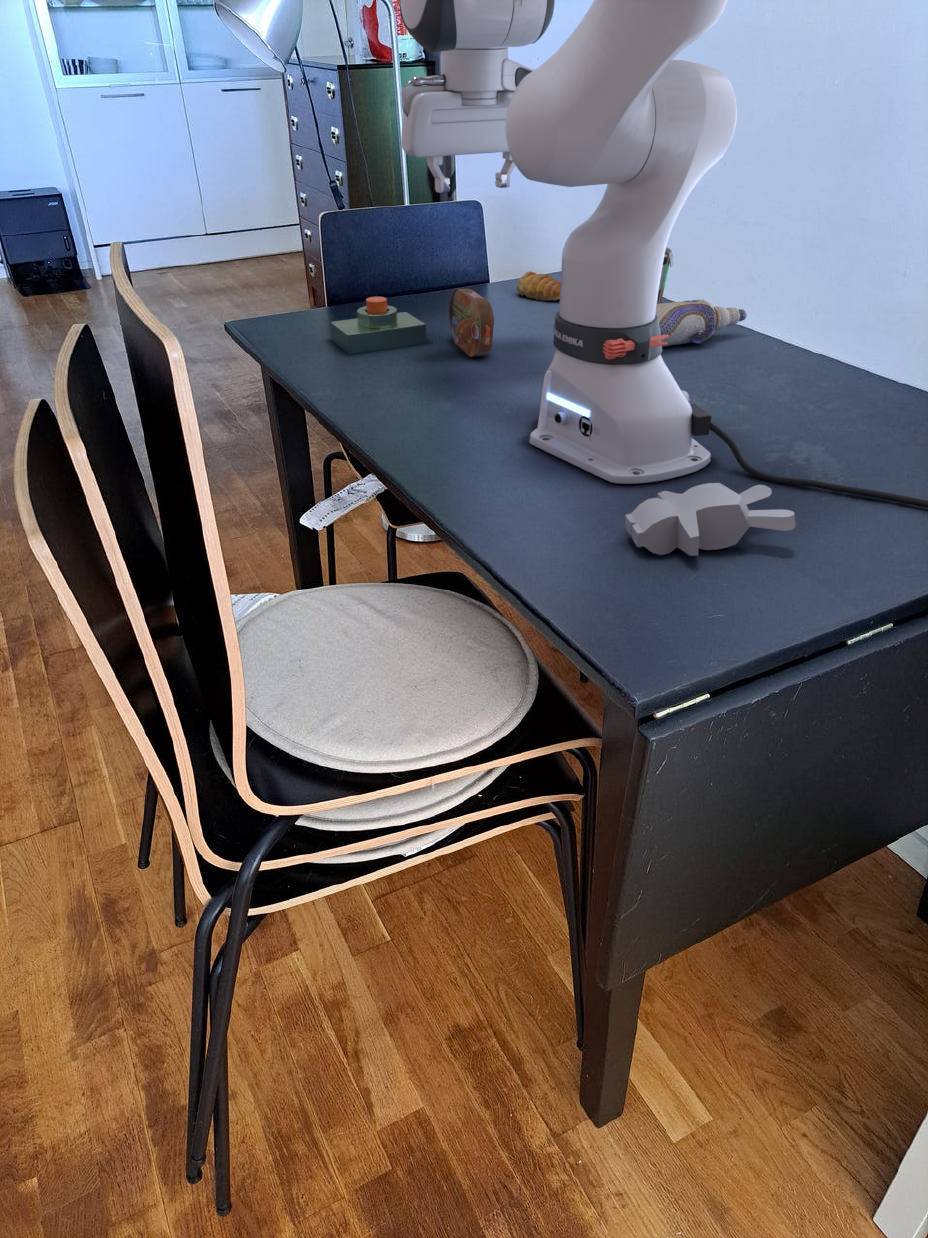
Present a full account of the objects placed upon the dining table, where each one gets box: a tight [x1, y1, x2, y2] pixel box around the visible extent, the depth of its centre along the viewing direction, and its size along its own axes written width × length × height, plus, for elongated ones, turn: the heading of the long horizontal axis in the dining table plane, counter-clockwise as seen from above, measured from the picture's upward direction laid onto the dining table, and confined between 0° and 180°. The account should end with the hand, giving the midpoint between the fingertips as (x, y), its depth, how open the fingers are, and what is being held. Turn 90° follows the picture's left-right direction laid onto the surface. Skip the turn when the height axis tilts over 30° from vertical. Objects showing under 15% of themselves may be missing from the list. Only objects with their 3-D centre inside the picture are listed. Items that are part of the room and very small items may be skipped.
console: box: [330, 304, 427, 355], centre depth 140 cm, size 8×13×5 cm, turn 116°
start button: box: [365, 296, 388, 313], centre depth 138 cm, size 3×3×2 cm
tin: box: [448, 287, 495, 358], centre depth 135 cm, size 15×3×8 cm, turn 17°
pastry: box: [516, 271, 561, 302], centre depth 163 cm, size 9×7×4 cm
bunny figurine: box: [624, 482, 796, 557], centre depth 86 cm, size 10×5×15 cm
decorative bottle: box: [656, 299, 748, 348], centre depth 138 cm, size 26×8×7 cm, turn 113°
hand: (472, 189), depth 124 cm, fingers open, 8 cm apart
